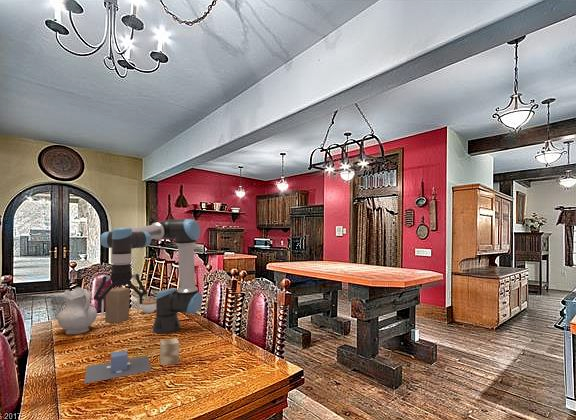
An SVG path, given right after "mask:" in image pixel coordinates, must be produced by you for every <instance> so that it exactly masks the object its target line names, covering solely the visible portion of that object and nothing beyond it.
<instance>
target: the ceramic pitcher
mask: <svg viewBox="0 0 576 420" xmlns="http://www.w3.org/2000/svg"><path fill="white" fill-rule="evenodd" d="M91 297H92V292H91V291H90V290H89V289H85V288H82V287H79V286H77V287H75V288H74V289H73V290H72V291H70V290H69V289H68V290H67V289H65V291H64V292H63V298H64V300H65V302H66V303H65V307H64V308H63V309H62V310H60V312H59V313H58V314H57V317H56V318H57V323H58V325H59V327H60V328H61V329H63V330H65V335H79V334H83V333H88V331H90V330H91V329H90V328H89V327H90V326H92V325H93V324H94V322H95V321H96V319H97V316H98V311H97V310H98V309H96V308H95V307H94V306H92V305H91V299H92V298H91Z"/></svg>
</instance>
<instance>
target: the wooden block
mask: <svg viewBox="0 0 576 420" xmlns="http://www.w3.org/2000/svg"><path fill="white" fill-rule="evenodd" d="M130 291H131V287H130V288H129V287H115V288H114V287H113V288H112V289H111V290H110V291H109V292H108V293H107V295H106V296H105V310H104V311H105V314H104V316H105V317H104V322H105V323H111V324H112V323H114V324H119V323H122V322H124V321H127V320H129V319H130V300H131V299H130V298H131V297H130V294H131V293H130Z"/></svg>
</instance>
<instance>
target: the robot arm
mask: <svg viewBox="0 0 576 420" xmlns="http://www.w3.org/2000/svg"><path fill="white" fill-rule="evenodd" d="M200 234H201V229H200V225H199V223H198V222H197V220H195V219H192V218H191V219H190V218H179V219H178V218H177V219H175V218H174V219H173V218H172V219H166V220H162V221H157V222H153V223H151V225H145V226H144V225H143V226H139V227H133V228H131V227H114V228H113V229H112V230H111V231H105V232H103V233H102V234H101V235H100V238H99V241H100V244H101V246H102V247H103V248H109V249H111V264H112V265H111V275H109V276H107V275H103V277H102V281H101V283H100V285H99V287H98V289H97V291H96V292H95V294H94V296H93V300H95V301H97V302H98V306H97V307H98V309H101V310H100V311H101V316H100V317H101V318H103V317H104V316H105V314H104V311H105V310H104V307H105V302H104V301H105V300H104V298H106V295H107V293H108V292H109V291H110V290H111V289H114V287H115V286H116V287H120V286H122V287H123V286H125V287H126V285H127V286H129V287H130V289H132V290H133V292H135V293H136V294H137V297H136V299H137V300H136V312H137V313H140V307H141V304H142V301H143V297H145V295H147V294H148V292H147V290H146V289H145V287H144V285H143V283H142V281H141V280H140V274H139V273H136V274H132V264H131V263H132V249H143V248H146V247H149V245H151V243H152V240H153V239H154V240H174V244H175V245H176V246H177V250H178V253H177V254H178V256H177V257H178V278H179V288H175V287H174V288H168V289H163V290H159V291H158V292H156V299H155V300H156V309H155V320H154V322H153V325H152V332H153V333H156V334H170V333H174V332H177V331H179V330H181V322H180V320H179V317H178V313H182V314H196V313H197V312H198V311H200V309H201V306H202V303H203V295H202V293H201V292H199V288H198V287H197V286H196V277H195V274H196V273H195V248H194V247H195V246H194V245H195V244H197V240H198V239H199V238H200ZM132 279H134V280H136V282H137V284H138V285H139V287H140V290H141V291H142V292H141V291H140V290H139V288H137V287H136V286H135V285H134V284H133V283H132V282H131V280H132ZM109 280H110V281H111V283H110V285H108V287H107V288H106V289H105V290H104V291H103V292H102V290H103V288H104V287H105V284H106V282H108V281H109ZM101 292H102V293H101ZM99 295H100V296H99Z"/></svg>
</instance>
